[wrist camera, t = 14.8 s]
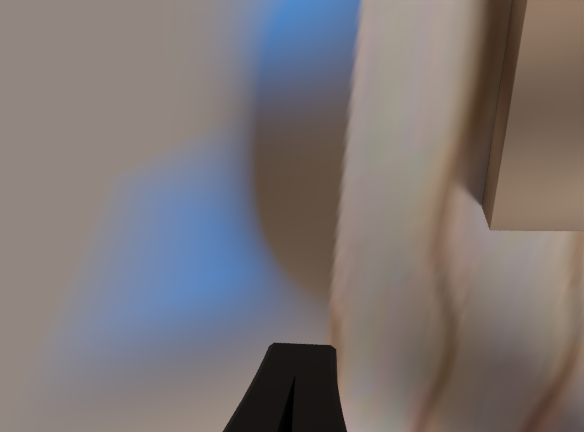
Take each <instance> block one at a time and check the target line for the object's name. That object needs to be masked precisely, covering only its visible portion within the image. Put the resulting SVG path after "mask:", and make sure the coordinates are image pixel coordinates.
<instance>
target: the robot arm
mask: <svg viewBox="0 0 584 432" xmlns="http://www.w3.org/2000/svg"><path fill="white" fill-rule="evenodd" d="M223 432H347V430H346V426H345V421H344V417H343V413H342V408H341V403H340V397H339V391H338V383H337V356H336V349H335V348H334V347H332V346H331V345H313V344H290V343H273V344H272V345H270V346H269V348H268V350H267V352H266V355H265V357H264V359H263V361H262V363H261V365H260V367H259V369H258V371H257V373H256V375H255V377H254V379H253V381H252V383H251V385H250V386H249V388H248V390H247V392H246V394H245V395H244V397H243V399H242V401H241V402H240V404H239V406H238V407H237V409H236V411H235V412H234V414H233V416H232V417H231V419H230V421H229V422H228V424H227V426H226V427H225V429H224V431H223Z"/></svg>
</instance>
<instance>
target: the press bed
mask: <svg viewBox="0 0 584 432" xmlns="http://www.w3.org/2000/svg"><path fill="white" fill-rule="evenodd" d="M482 209H483V211H484V214H485V217H486V220H487V223H488V226H489V229H490V230H518V231H584V0H513V2H512V9H511V16H510V23H509V29H508V36H507V43H506V49H505V56H504V63H503V70H502V76H501V83H500V90H499V97H498V103H497V110H496V117H495V123H494V130H493V137H492V144H491V150H490V157H489V164H488V170H487V177H486V184H485V191H484V197H483V204H482Z"/></svg>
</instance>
